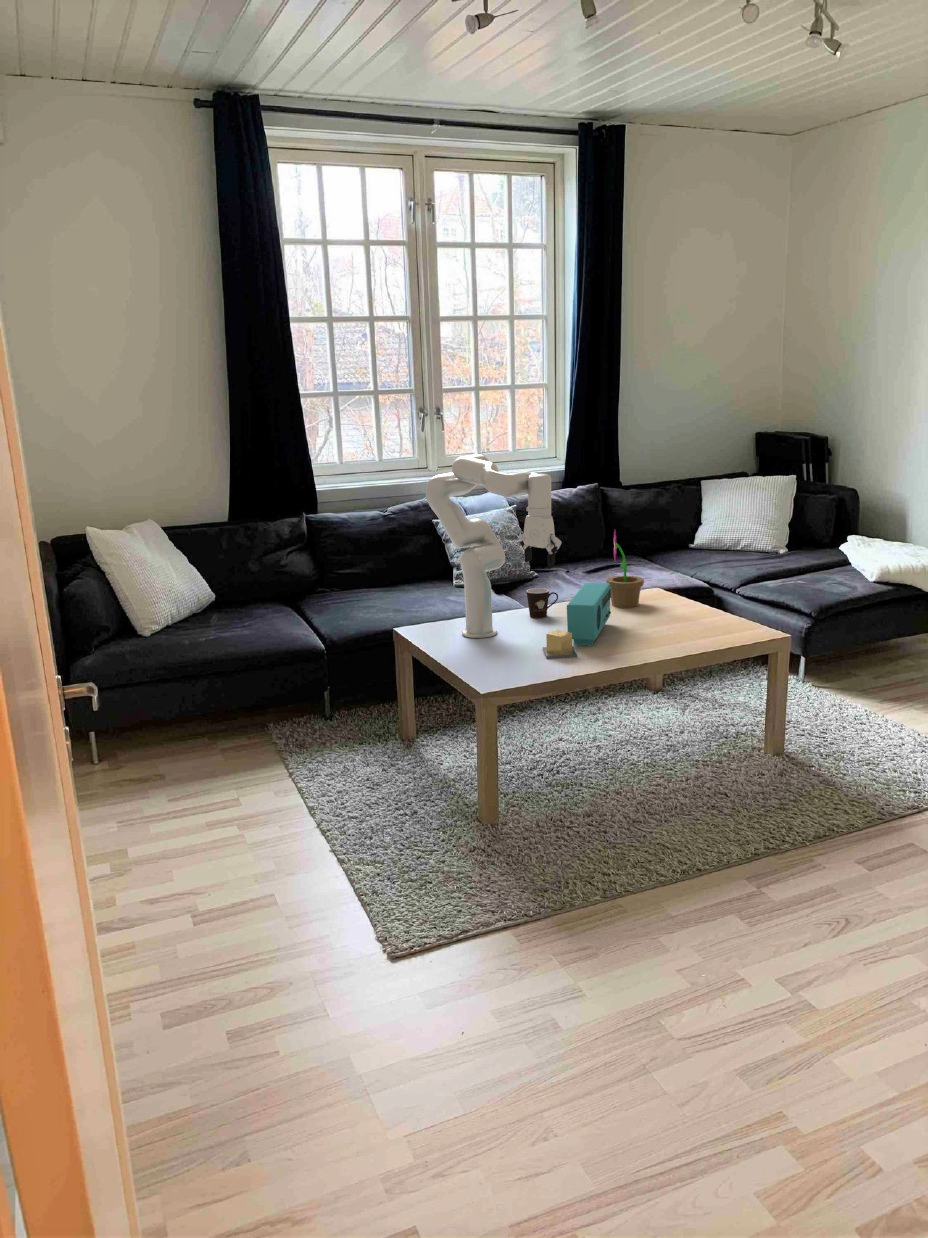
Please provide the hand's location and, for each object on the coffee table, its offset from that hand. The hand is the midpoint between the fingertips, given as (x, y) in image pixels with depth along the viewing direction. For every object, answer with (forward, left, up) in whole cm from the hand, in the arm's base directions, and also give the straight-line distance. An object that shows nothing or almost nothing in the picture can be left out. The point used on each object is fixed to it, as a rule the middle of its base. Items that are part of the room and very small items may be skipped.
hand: (539, 563), depth 316 cm
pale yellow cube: (+9, +5, -28) cm, 30 cm away
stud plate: (+9, +5, -29) cm, 31 cm away
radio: (-12, +19, -29) cm, 37 cm away
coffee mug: (-40, +5, -29) cm, 50 cm away
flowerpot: (-51, +39, -29) cm, 71 cm away
